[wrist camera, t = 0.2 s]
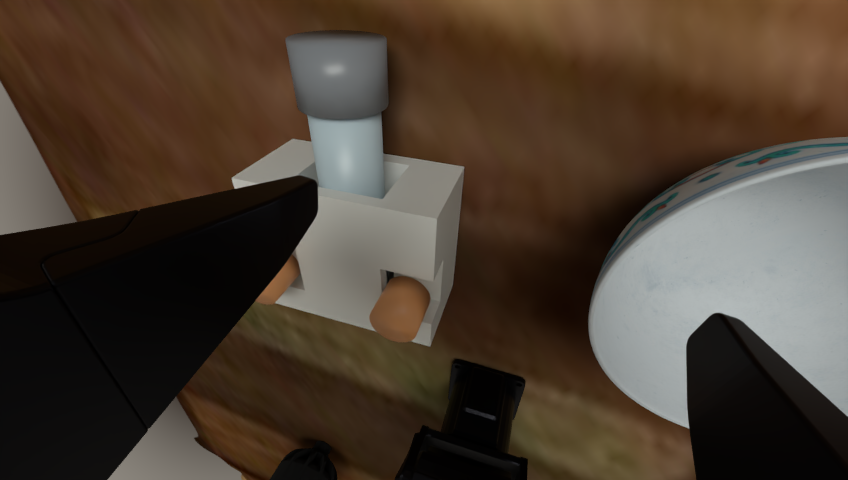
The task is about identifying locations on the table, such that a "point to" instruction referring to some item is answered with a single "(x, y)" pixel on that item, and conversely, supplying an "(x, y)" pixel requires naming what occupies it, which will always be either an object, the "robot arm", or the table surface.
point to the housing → (371, 236)
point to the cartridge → (343, 105)
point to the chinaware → (731, 272)
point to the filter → (307, 464)
